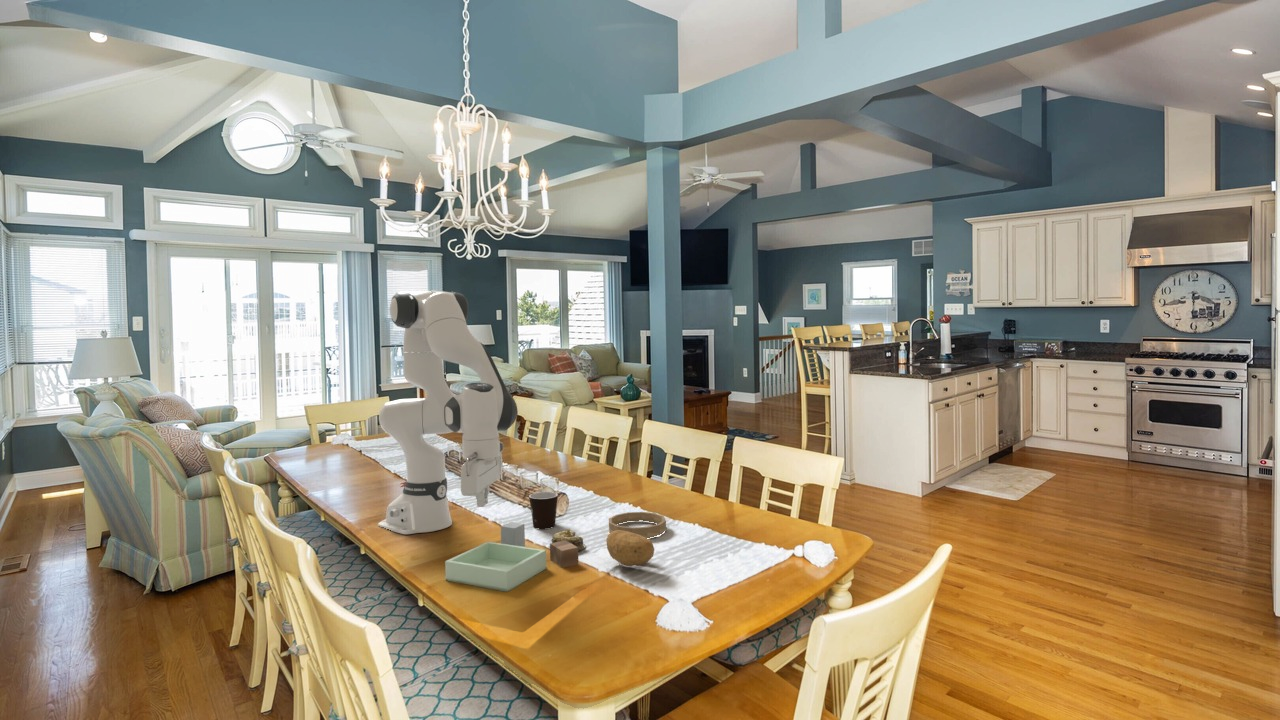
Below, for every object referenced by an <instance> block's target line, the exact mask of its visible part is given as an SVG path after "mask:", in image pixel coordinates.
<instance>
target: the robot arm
mask: <svg viewBox="0 0 1280 720" xmlns="http://www.w3.org/2000/svg"><path fill="white" fill-rule="evenodd" d="M469 308H470V307H469V301H468V299H467V298H466V297H465V295H464V294H462V293H459V292H456V291H451V292H450V291H443V290H432V289H431V290H417V291H408V290H406V291H400V292H396V293H395V294H394V295H393V296H392V297H391V301H390V304H389V315H390V317H391V321H392V323H393V324H394V325H395V326H397V327H399V328H403V329H404V333H403V342H402V343H403V344H402V346H403V347H402V349H403V376H404V378H405V380H406V381H407V382H408V383H410V384H411V385H412V386H415V387H417V388H419V389H422V390H423V392H425V395H426V397H417V398H416V397H413V398H400V399H395V400H390V401H386V402H385V403H384V404H383V405H382V407H381V408H380V410H379V413H378V423H379V426H380V427H381V429H382V430H383V431H384V432H385V434H387V435H388V436H391V437H392V438H393V439H394V440H395V441H396V443H397V444H398V445H399V446H400V448H401V450H402V452H403V455H404V458H405V465H406V466H405V467H406V468H405V469H406V481H405V482H401V483H400V486H399V487H400V488H403V489H402V493H401V494H400V495H399V496H398V497H397V498H395V499H394V500H392V502H390V503H388V506H387V508H386V513H385V519H383V520H381V521H379V522H378V523H377V527H378V526H380V527H379V528H381V527H384V528H386V529H385V530H387V529H389V530H388V531H390V530H391V532H395V533H397V534H401V535H412V534H418V533H430V532H435V531H440V530H444V529H446V528H448V527H450V526H452V525H453V520H452V518H451V517H452V516H451V513H450V507H449V502H448V496H447V493H448V478H447V477H446V457H445V453H444V452H443V450H442V449H440V448H439V447H438V446H435V445H433V444H430V443H428V442H426V440H425V438H424V435H437V434H450V433H458V434H462V438H461V442H462V443H461V444H462V448H461V449H462V458H463V459H464V460H466V461H465V462H464V463H463V464H462V466H461V473H460V493H461V495H462V496H463V497H475V499H476V506H477V507H478V508H484V507H485V506H486V505H487V504H488V503H489V501H488V500H489V498H488V497H489V493H490V485H492V484H494V483H495V482H497V480H499V479H500V478H501V474H502V464H503V462H502V460H503V459H502V457H503V455H502V452H504V442H501V441H500V433H499V431H505V432H506V431H507V430H509V428H510V427H512V426H513V425H514V423H515V422H516V421H517V418H518V411H519V410H518V406H517V405H518V404H517V402H516V401H515V400H516V399H514V397H513V396H512V394H511V393H510V391H509V390H508V388H507V387H506V384H505V383H504V380H503V378H502V376H501V374H500V371H499V370H498V368H497V365H496V363H495V361H494V359H493V357H492V356H491V353H490V352H489V350H488V348H487V347H486V345H485V344H483V343H482V342H481V341H478V339H477V338H475V336H474V335H473V334H472V333H471V331H470V330H469V328H468V324H467V320H468V317H469V311H470V310H469ZM443 361H445V362H448V363H453V364H457V365H461V366H463V367H466V368H469V369H471V370H472V371H474V372H476V374H477V375H478V376H479V378H480V381H481V382H471V383H467V384H465V385H464V386H463V388H462V390H461V393H459V394H457V395H456V394H455V393H454V392H453V391H452V390H451V389H450V387H449V384H448V383H447V382H446V381H447V380H446V378H445V374H444V373H445V372H444V366H443ZM510 429H511V428H510ZM384 528H383V529H384Z"/></svg>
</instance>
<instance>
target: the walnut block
mask: <svg viewBox="0 0 1280 720" xmlns="http://www.w3.org/2000/svg"><path fill="white" fill-rule="evenodd" d="M549 554H550V556H549V557H550V559H549V561H551V562H553V564H556V566H559V567H560V568H562V569H564V568H569V567H574V566H577V565H579V551H578V547H577V546H575V545H573V544H571V543H570V542H568V541H566V540H565V541H560V542H555V543H552V542H551V543H549Z"/></svg>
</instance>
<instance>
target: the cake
mask: <svg viewBox="0 0 1280 720" xmlns="http://www.w3.org/2000/svg"><path fill="white" fill-rule="evenodd" d="M565 540H566V541H568V542H570V543H571V544H573V545H575V546H577V547H578V552H579V551H582V550H585V549H586V547H587V545H586V544H585V543H584V538H583V537H582V536H579V535H576V532H575V531H573V530H572V531H571V530H570V528H567V530H563V531H559V532H556V533H554V534H553V535H552V538H551V543H555V542H560V541H565Z"/></svg>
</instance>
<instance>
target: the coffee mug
mask: <svg viewBox="0 0 1280 720" xmlns="http://www.w3.org/2000/svg"><path fill="white" fill-rule="evenodd" d="M558 496H559V494H558V493H557V492H553V491H540V492H535V493H531V494H529V496H528V498H529V505H530V511H531V518H532V527H533V528H534V529H536V528H539V529H538V530H546V529H545V528H550V529H552V528H551V527H553V528H554V527H556V518H557V508H558V499H559V498H558Z"/></svg>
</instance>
